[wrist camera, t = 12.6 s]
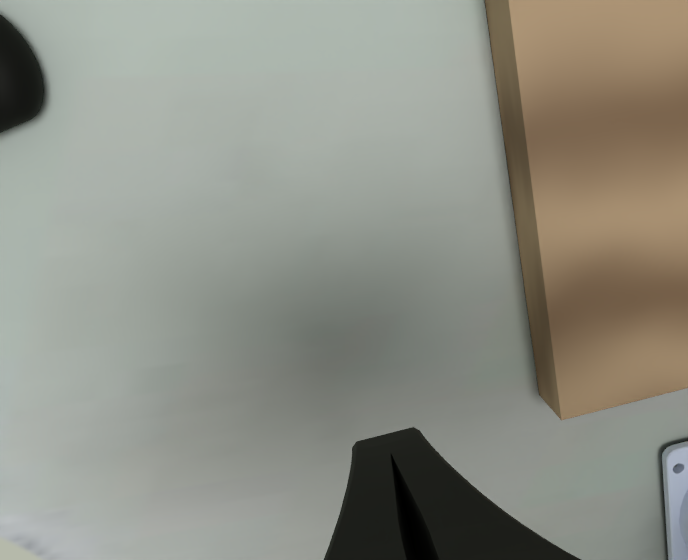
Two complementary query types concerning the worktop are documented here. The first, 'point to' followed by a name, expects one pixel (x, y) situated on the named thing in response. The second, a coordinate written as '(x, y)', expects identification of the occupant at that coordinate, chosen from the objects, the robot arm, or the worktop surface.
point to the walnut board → (598, 191)
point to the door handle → (17, 79)
